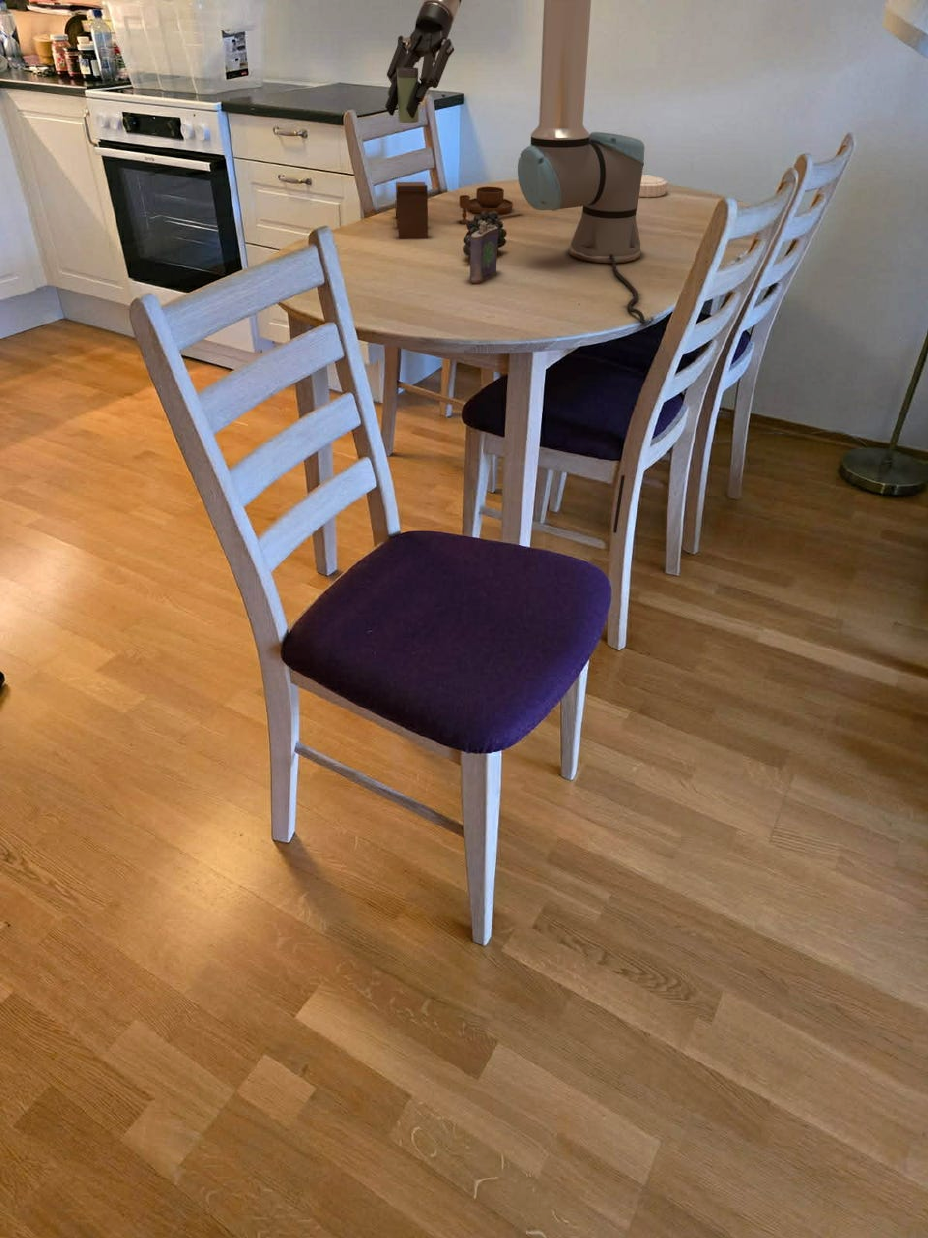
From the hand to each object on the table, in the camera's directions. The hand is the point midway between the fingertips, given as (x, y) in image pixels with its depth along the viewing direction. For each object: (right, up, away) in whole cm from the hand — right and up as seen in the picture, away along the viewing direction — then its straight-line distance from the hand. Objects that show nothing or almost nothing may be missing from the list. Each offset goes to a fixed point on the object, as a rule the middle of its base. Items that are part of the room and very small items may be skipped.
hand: (399, 111), depth 183 cm
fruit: (+17, -32, 0) cm, 36 cm away
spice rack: (+1, -17, +18) cm, 25 cm away
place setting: (+17, -7, +30) cm, 36 cm away
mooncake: (+64, +8, +50) cm, 82 cm away
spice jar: (+2, 0, +4) cm, 4 cm away
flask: (+18, -41, -12) cm, 47 cm away
